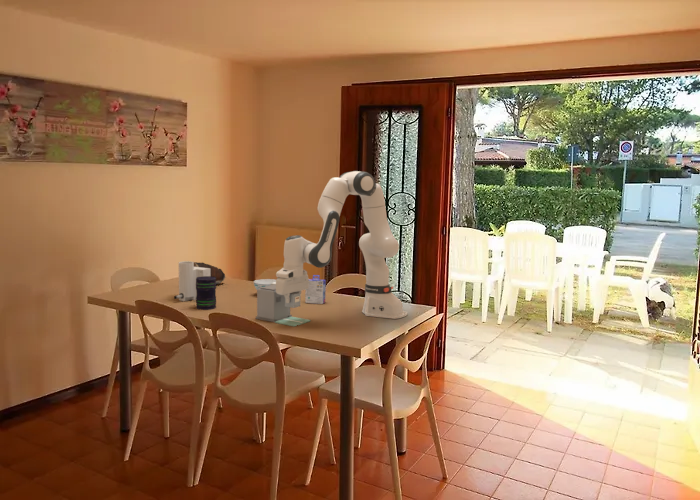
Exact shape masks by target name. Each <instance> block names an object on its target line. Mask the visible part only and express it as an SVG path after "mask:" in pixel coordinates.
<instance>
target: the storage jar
mask: <svg viewBox="0 0 700 500" xmlns="http://www.w3.org/2000/svg"><path fill="white" fill-rule="evenodd" d="M216 289H217V284H216V277H211V276H203V277H197V278H196V290H197V297H196V300H195V306H196V307H195V308H196V309H197V310H200V309H201V310H202V311H210V310H214V309H217V296H216V295H217V294H216Z"/></svg>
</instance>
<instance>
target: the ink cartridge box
mask: <svg viewBox="0 0 700 500" xmlns="http://www.w3.org/2000/svg"><path fill="white" fill-rule="evenodd" d="M320 276H321V275H319V274H313V275H312V278H308V279H309V287H308V289H306V290H304V291H305V294H304V296H305V298H304V299H305V301H304V302H305V304H317V305H318V304H319V305H320V304H321V305H323V304H325V303H326V287H327V286H326V285H327V283H326V282H327V281H326V279H320V278H321V277H320Z"/></svg>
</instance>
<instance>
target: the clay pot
mask: <svg viewBox="0 0 700 500" xmlns="http://www.w3.org/2000/svg"><path fill="white" fill-rule="evenodd" d="M193 262H194V267H201V268H210V275H211V277H216V285H217V284H221V283H222V282H224V281H225V279H226V275H225V273H224V271H223V270H222V269H221V268H219V267H217V266H214V265H211V264H208V263H205V262H195V261H193Z"/></svg>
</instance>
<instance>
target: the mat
mask: <svg viewBox="0 0 700 500" xmlns="http://www.w3.org/2000/svg"><path fill="white" fill-rule="evenodd" d="M310 322H311V319H306V318H303V317H295V316H292V317H288V318H285V319H282V320H278V321H275V322H274V323H275V324H280V325H285V326H289V327H298V326H300V325H304V324H306V323H310ZM297 325H298V326H297Z"/></svg>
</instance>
